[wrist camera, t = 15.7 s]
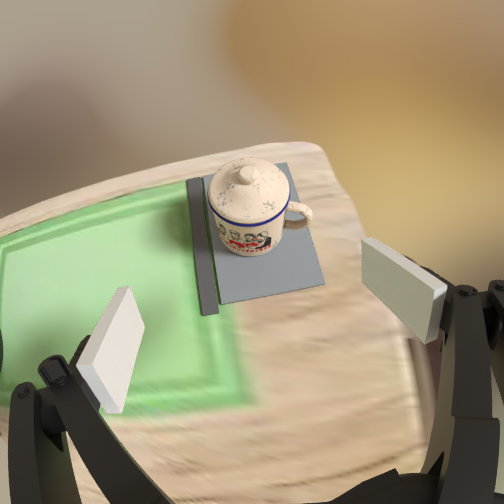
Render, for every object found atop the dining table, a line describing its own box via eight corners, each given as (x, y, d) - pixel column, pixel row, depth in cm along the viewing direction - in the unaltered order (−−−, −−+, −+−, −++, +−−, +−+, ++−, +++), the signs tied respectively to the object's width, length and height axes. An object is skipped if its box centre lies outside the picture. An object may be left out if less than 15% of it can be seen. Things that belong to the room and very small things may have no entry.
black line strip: (203, 316, 35) (202, 315, 35) (187, 180, 44) (187, 179, 44) (219, 313, 35) (218, 312, 35) (200, 178, 44) (200, 177, 44)
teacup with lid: (208, 251, 38) (190, 200, 28) (227, 195, 42) (218, 136, 31) (300, 270, 37) (315, 224, 26) (310, 210, 40) (325, 153, 30)
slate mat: (221, 304, 36) (221, 303, 35) (203, 177, 44) (203, 175, 44) (324, 284, 36) (325, 283, 36) (286, 164, 45) (286, 162, 44)
